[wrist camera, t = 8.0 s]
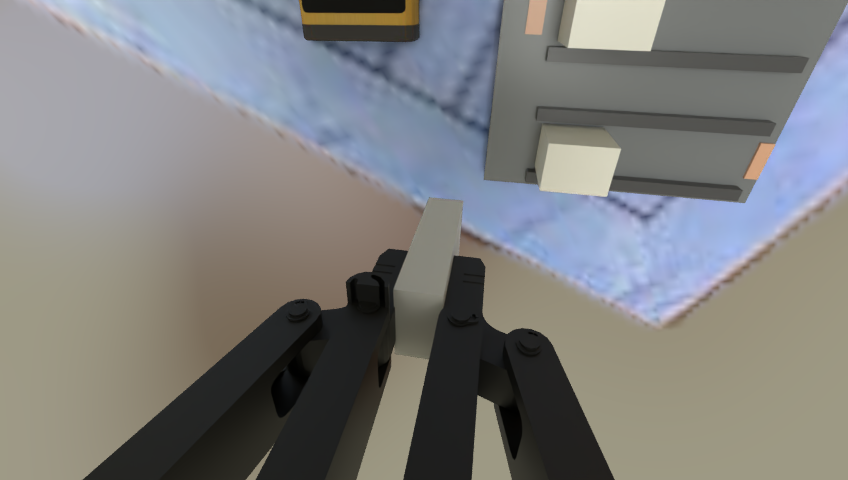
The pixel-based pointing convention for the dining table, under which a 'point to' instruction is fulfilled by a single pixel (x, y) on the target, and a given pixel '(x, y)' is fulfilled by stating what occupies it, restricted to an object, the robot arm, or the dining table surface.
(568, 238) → the dining table surface
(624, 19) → the tab
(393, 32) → the electronic device
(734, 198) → the switch bank
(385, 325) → the robot arm
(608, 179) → the tab
